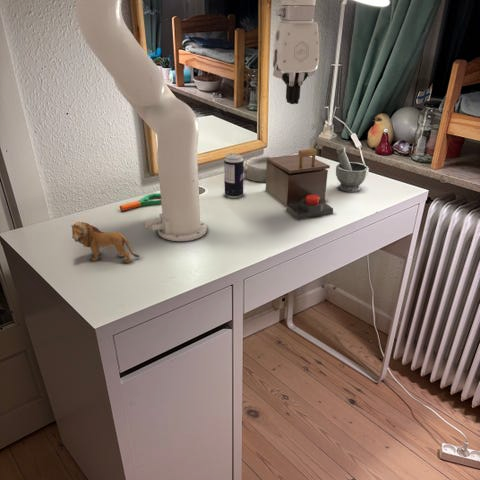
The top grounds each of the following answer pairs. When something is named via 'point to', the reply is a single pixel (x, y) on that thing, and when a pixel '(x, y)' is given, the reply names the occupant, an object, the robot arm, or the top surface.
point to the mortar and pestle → (350, 172)
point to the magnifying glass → (142, 202)
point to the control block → (309, 209)
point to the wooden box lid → (299, 162)
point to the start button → (312, 199)
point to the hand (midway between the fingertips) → (292, 102)
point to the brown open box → (294, 184)
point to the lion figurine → (100, 240)
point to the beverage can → (233, 175)
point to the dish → (256, 168)
